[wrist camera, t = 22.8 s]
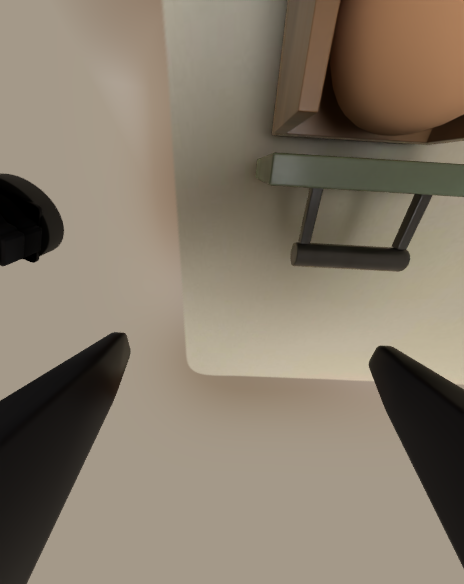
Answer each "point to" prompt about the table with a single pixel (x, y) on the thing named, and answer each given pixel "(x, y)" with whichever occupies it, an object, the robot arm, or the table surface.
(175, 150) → the table surface
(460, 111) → the egg
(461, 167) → the drawer
